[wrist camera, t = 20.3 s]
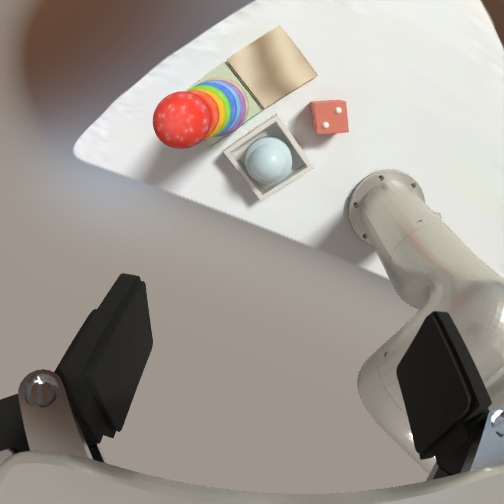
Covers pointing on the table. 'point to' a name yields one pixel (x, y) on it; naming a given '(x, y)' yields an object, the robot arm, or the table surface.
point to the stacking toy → (201, 113)
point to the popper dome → (268, 160)
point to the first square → (272, 66)
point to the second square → (225, 72)
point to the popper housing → (276, 129)
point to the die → (329, 116)
